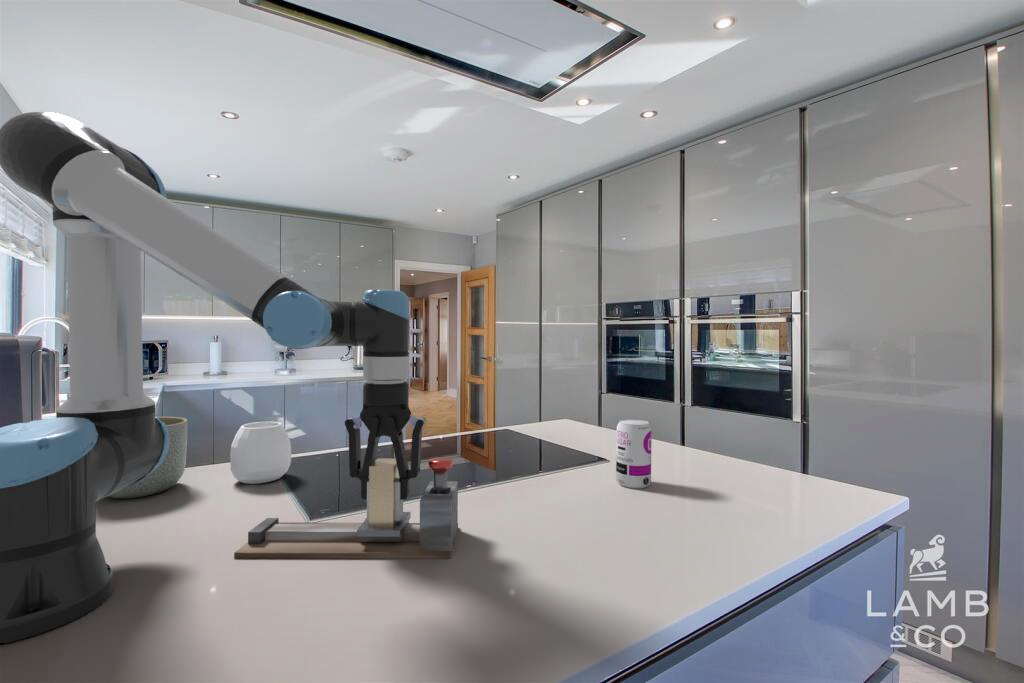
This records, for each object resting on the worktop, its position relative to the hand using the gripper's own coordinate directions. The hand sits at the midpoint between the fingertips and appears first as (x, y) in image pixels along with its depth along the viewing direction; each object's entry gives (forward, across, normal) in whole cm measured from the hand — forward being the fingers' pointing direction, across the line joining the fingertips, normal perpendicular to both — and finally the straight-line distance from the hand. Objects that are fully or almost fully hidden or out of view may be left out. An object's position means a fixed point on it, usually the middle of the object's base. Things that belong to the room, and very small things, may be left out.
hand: (385, 517), depth 79 cm
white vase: (+4, +39, -34) cm, 52 cm away
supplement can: (+4, -51, -32) cm, 61 cm away
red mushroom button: (-3, -9, 0) cm, 10 cm away
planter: (+4, +61, -25) cm, 66 cm away
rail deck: (+4, +5, 0) cm, 7 cm away
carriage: (+3, 0, 0) cm, 3 cm away
